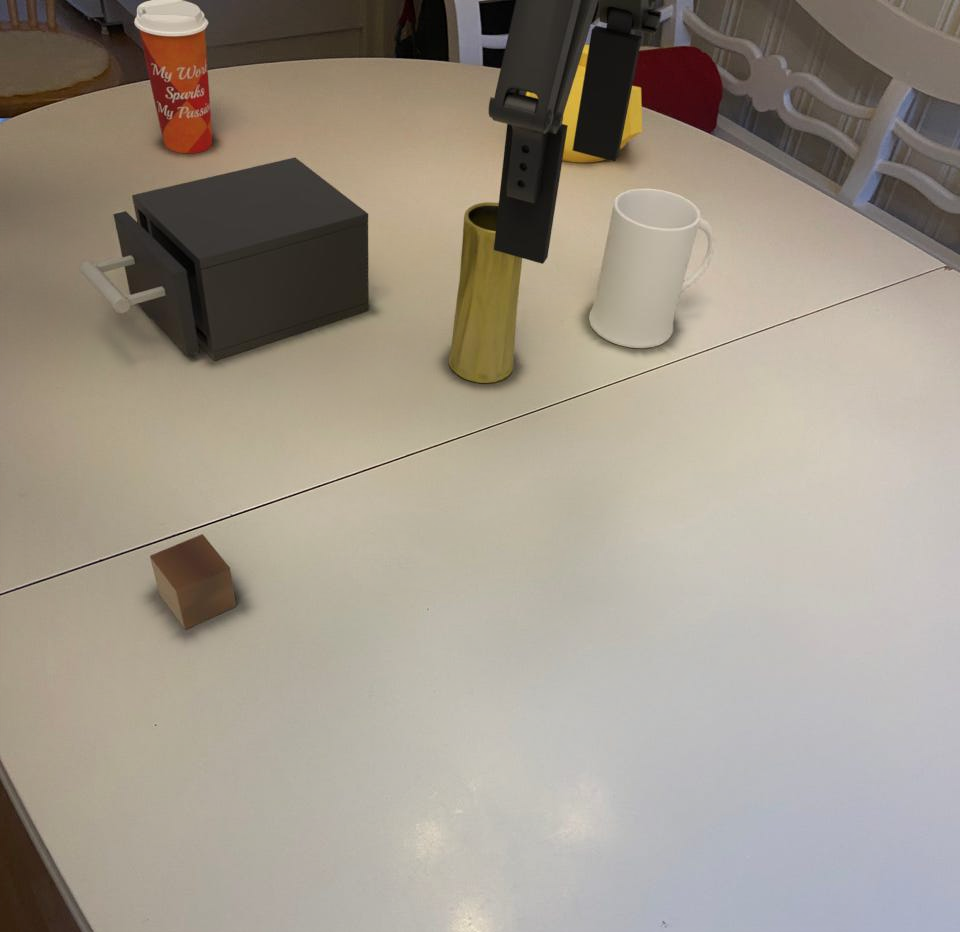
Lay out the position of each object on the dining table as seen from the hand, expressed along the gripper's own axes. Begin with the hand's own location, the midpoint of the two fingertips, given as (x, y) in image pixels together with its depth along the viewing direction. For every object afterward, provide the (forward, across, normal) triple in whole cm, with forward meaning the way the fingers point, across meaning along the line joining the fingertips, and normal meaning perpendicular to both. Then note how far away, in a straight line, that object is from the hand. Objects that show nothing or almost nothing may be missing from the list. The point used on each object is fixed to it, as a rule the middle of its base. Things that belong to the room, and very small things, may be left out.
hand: (560, 200), depth 54 cm
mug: (+28, +37, -2) cm, 46 cm away
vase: (+28, +22, +11) cm, 37 cm away
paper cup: (+28, +48, +58) cm, 80 cm away
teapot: (+28, +72, +19) cm, 80 cm away
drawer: (+27, +17, +36) cm, 48 cm away
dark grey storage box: (+28, +22, +34) cm, 49 cm away
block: (+28, -15, +18) cm, 36 cm away
